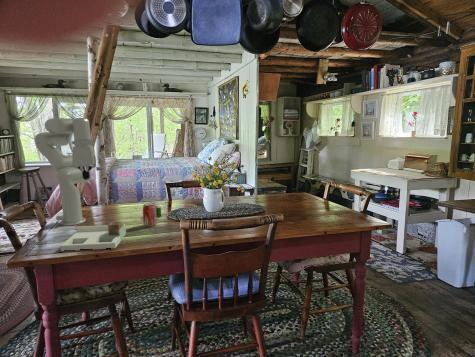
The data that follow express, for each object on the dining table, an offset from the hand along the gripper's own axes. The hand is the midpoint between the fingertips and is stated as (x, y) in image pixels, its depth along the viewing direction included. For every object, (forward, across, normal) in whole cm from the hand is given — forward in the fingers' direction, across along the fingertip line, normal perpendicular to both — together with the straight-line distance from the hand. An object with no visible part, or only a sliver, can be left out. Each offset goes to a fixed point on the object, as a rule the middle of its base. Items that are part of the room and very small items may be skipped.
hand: (86, 179), depth 156 cm
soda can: (+27, +30, +3) cm, 41 cm away
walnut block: (+25, +17, -16) cm, 34 cm away
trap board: (+27, +8, -19) cm, 34 cm away
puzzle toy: (+27, +30, +20) cm, 45 cm away
